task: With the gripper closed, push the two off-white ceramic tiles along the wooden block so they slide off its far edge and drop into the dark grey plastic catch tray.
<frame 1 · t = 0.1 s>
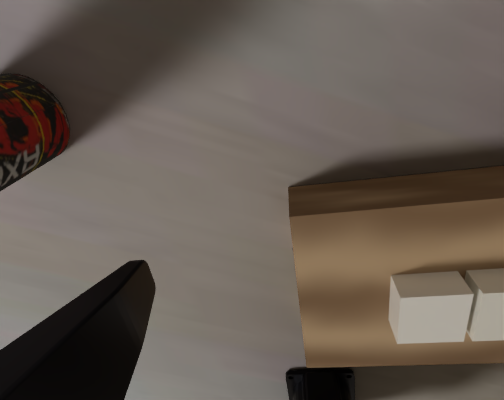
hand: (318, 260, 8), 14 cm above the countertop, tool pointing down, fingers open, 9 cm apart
tile a: (421, 296, 22), point 4 cm above the countertop, touching wooden block
wooden block: (402, 258, 26), on the countertop
tile b: (495, 292, 22), point 4 cm above the countertop, touching wooden block
deodorant: (27, 119, 23), on the countertop
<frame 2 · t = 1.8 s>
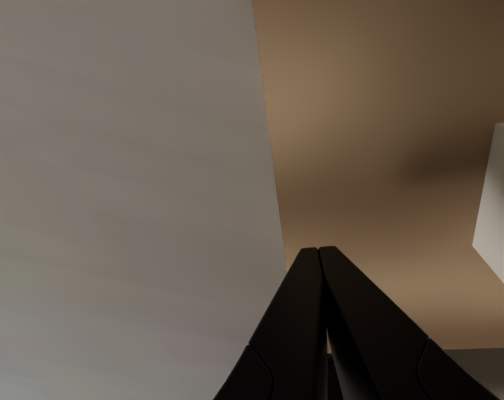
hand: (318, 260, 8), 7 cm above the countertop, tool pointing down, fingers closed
wooden block: (484, 138, 13), on the countertop
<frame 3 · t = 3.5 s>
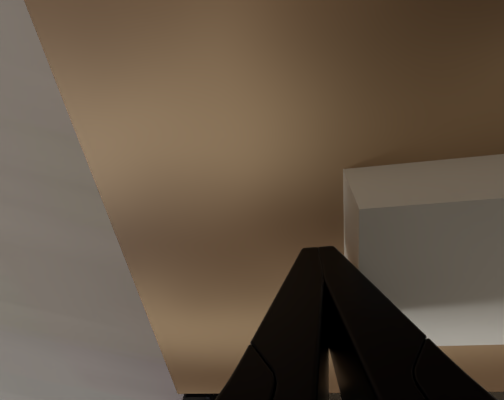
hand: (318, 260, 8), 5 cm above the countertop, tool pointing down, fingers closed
tile a: (420, 230, 9), point 4 cm above the countertop, touching gripper, tile b
wooden block: (367, 172, 13), on the countertop
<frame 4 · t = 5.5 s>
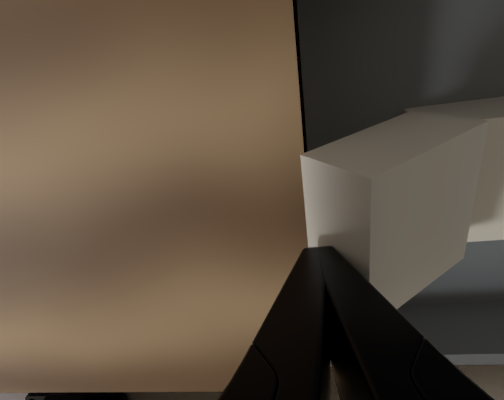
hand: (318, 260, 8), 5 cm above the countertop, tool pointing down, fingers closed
tile a: (360, 199, 9), point 3 cm above the countertop, tilted 38°, touching gripper, tile b
tray: (478, 160, 12), on the countertop
wooden block: (110, 195, 14), on the countertop
tile b: (493, 184, 10), point 2 cm above the countertop, tilted 180°, touching tile a, tray
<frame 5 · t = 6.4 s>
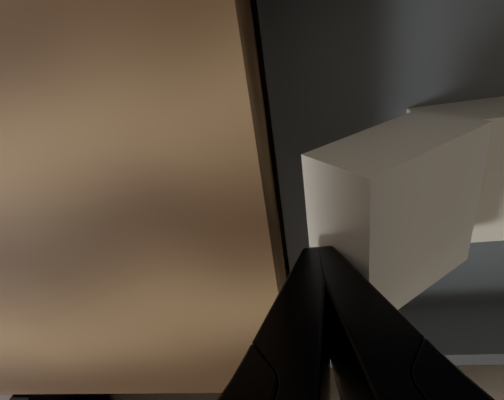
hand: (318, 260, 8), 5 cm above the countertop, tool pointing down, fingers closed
tile a: (363, 199, 9), point 3 cm above the countertop, tilted 36°, touching gripper, tile b
tray: (445, 163, 12), on the countertop
wooden block: (84, 198, 14), on the countertop
tile b: (497, 184, 10), point 2 cm above the countertop, tilted 180°, touching tile a, tray
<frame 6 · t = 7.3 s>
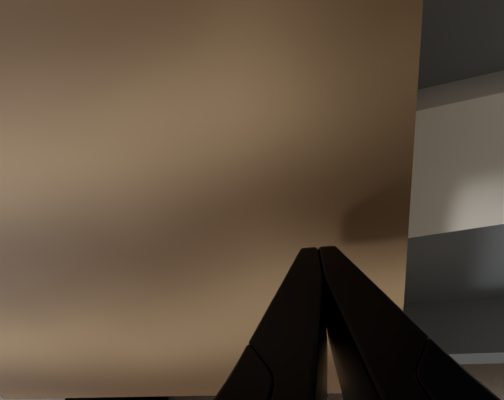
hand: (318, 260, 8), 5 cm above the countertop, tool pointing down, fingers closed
tile a: (447, 144, 11), resting on tray
wooden block: (163, 190, 13), on the countertop
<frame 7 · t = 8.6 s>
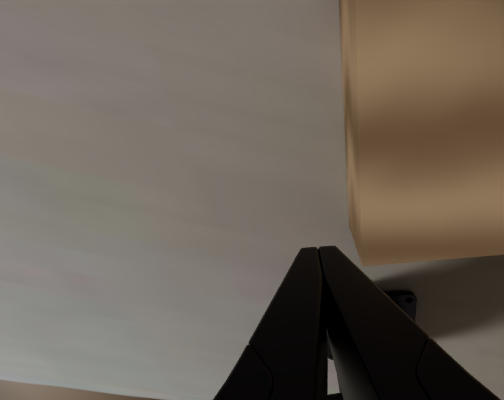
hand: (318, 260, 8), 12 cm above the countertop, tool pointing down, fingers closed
wooden block: (502, 97, 17), on the countertop
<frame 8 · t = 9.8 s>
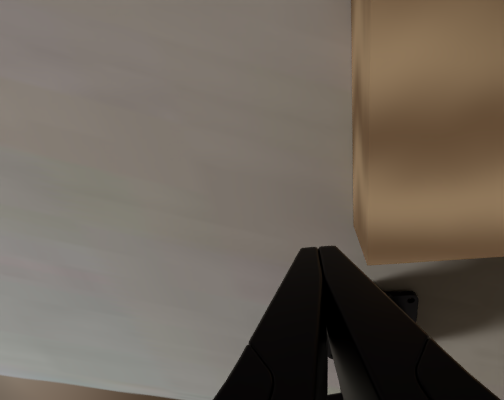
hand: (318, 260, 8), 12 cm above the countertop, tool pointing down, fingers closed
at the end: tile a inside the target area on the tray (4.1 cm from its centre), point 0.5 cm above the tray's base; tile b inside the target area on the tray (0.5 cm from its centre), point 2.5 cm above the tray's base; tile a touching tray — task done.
